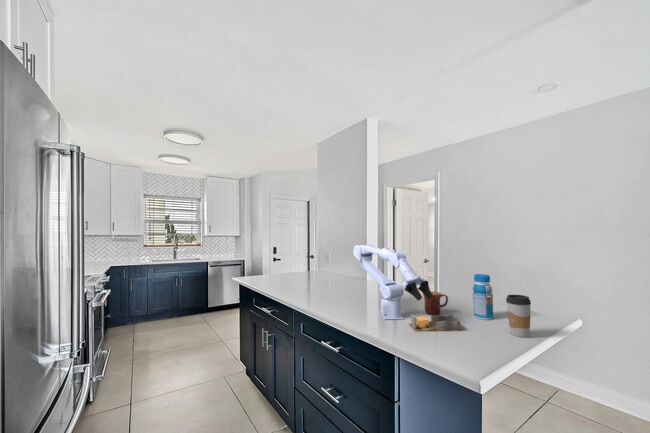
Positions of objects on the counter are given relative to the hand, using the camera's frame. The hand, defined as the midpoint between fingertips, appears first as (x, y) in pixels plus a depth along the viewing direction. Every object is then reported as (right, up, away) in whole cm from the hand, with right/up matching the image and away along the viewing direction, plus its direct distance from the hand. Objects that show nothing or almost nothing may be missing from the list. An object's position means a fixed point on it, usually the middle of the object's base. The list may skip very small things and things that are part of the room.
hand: (425, 298), depth 128 cm
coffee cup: (+33, -11, -11) cm, 37 cm away
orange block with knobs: (-2, -13, 0) cm, 13 cm away
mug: (+12, -13, +20) cm, 27 cm away
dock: (+3, -13, 0) cm, 14 cm away
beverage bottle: (+32, -13, +12) cm, 36 cm away
